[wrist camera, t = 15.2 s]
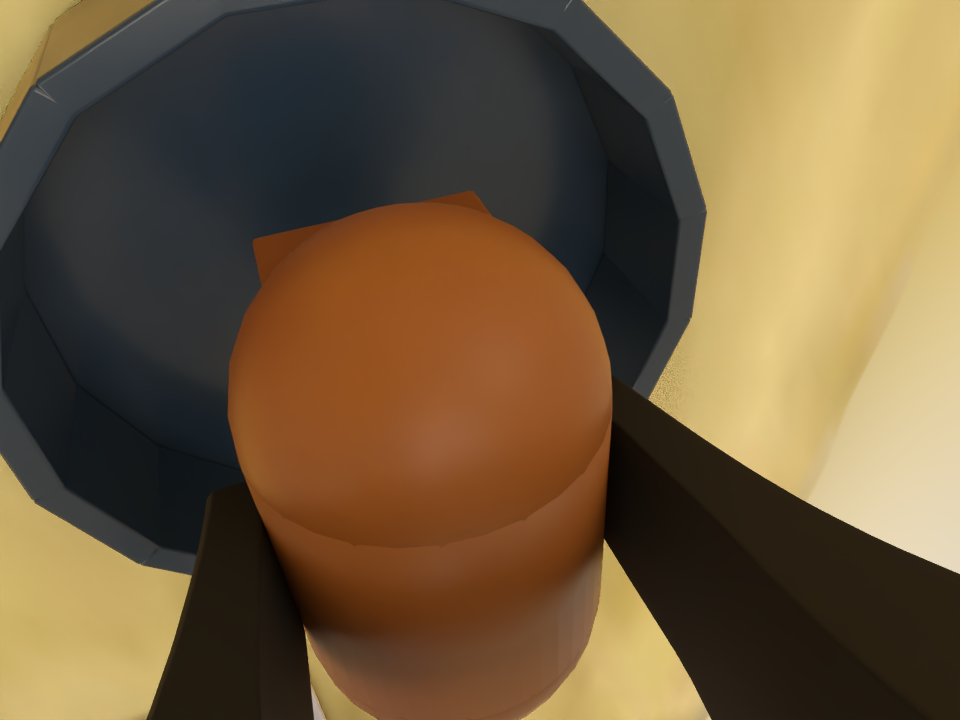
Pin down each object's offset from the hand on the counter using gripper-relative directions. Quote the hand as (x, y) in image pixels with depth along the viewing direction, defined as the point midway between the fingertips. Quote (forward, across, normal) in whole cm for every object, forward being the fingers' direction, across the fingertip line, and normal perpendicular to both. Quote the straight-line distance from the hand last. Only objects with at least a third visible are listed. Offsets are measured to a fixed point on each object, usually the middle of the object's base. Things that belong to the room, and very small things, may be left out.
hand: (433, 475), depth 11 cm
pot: (+7, 0, 0) cm, 7 cm away
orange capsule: (+2, 0, 0) cm, 2 cm away
